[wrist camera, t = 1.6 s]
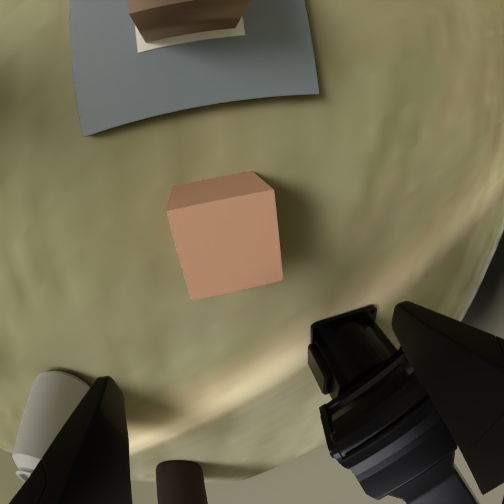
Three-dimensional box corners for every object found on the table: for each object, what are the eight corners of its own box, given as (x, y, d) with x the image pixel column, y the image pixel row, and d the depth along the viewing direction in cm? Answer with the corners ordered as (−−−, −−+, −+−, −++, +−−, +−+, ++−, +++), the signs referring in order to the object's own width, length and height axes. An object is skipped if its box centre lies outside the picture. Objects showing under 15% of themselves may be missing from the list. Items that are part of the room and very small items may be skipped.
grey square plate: (280, -70, 10) (285, -76, 9) (312, 94, 16) (319, 93, 15) (76, -39, 8) (72, -45, 7) (88, 136, 14) (82, 137, 13)
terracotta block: (252, 170, 18) (274, 189, 13) (261, 242, 20) (283, 280, 16) (172, 186, 17) (166, 211, 13) (189, 257, 19) (191, 300, 15)
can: (85, 365, 22) (63, 482, 11) (111, 410, 25) (105, 509, 14) (25, 362, 20) (-8, 461, 10) (56, 407, 24) (39, 495, 13)
